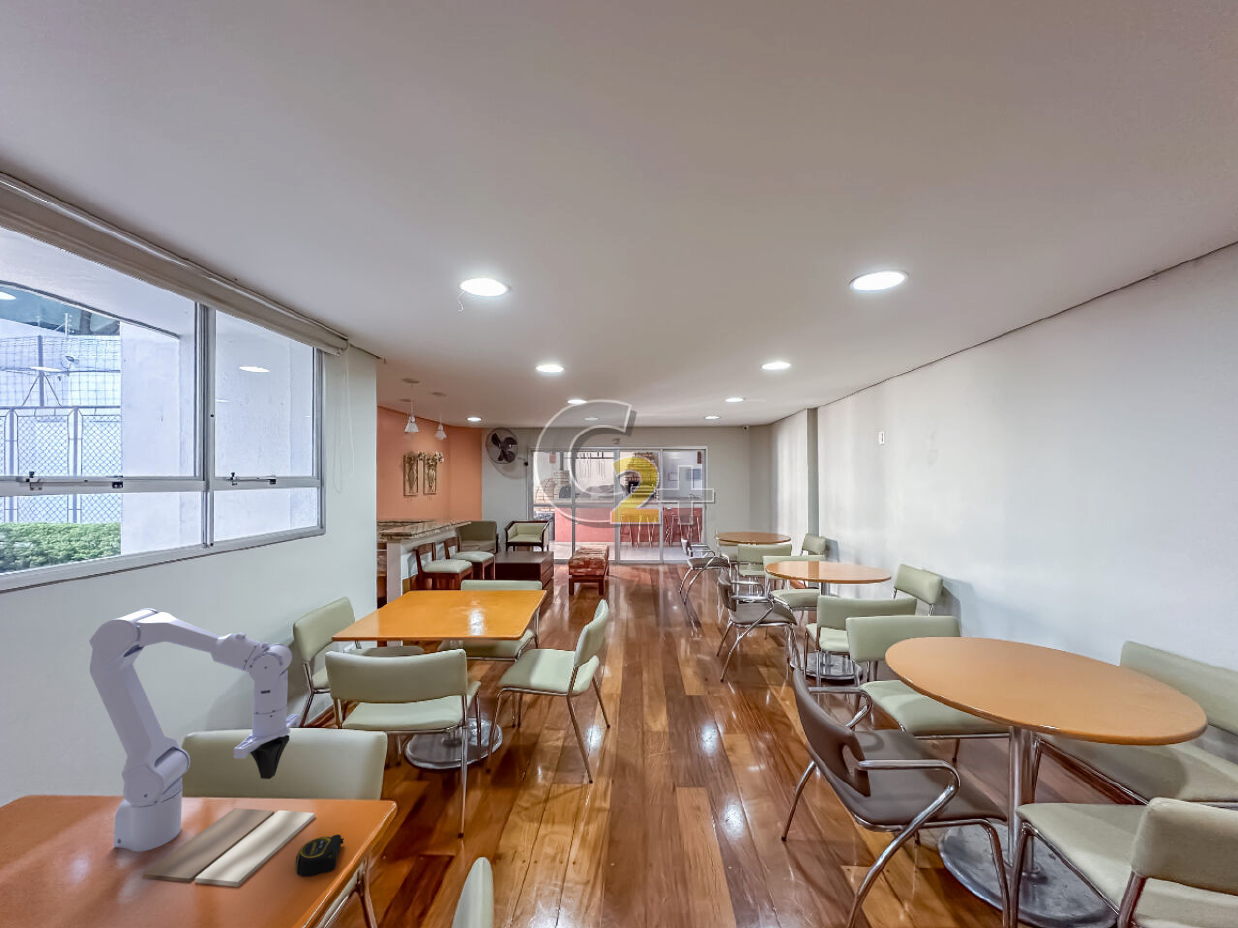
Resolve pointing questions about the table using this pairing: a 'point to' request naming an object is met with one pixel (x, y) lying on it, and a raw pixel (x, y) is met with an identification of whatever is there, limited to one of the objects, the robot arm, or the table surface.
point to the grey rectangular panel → (208, 845)
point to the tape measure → (318, 856)
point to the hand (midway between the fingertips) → (267, 776)
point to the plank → (255, 849)
